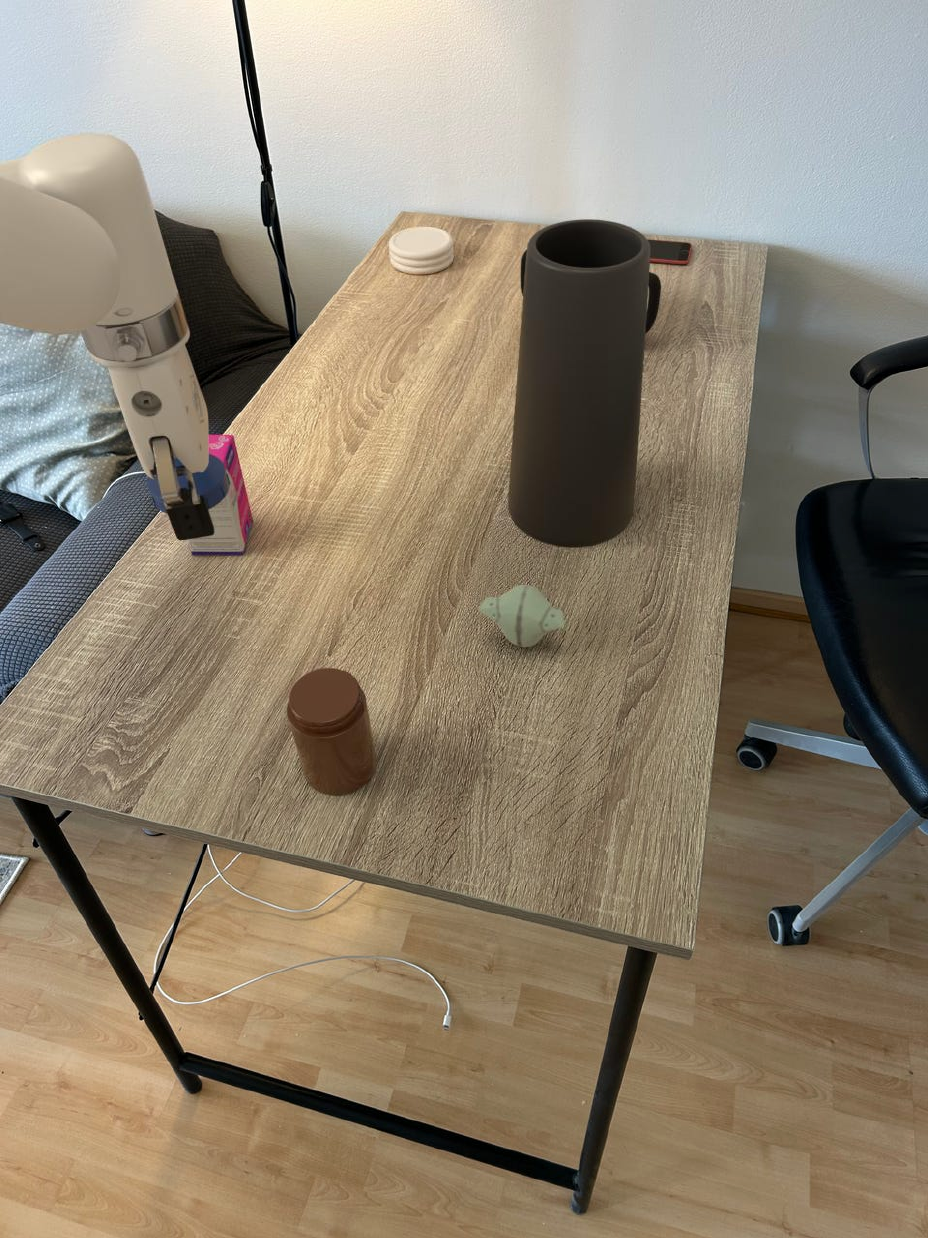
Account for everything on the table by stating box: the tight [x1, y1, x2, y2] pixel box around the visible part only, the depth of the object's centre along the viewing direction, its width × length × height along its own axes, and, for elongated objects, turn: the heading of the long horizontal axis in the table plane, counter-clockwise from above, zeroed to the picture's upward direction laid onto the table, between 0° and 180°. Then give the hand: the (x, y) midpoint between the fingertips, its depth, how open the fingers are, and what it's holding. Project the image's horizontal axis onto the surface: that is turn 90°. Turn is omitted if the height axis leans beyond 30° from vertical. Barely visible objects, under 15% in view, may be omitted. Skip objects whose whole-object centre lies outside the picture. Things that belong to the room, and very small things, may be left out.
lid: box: [146, 454, 231, 515], centre depth 77 cm, size 7×7×2 cm
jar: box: [286, 667, 378, 796], centre depth 72 cm, size 6×6×9 cm
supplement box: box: [187, 434, 254, 556], centre depth 92 cm, size 6×6×12 cm
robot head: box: [477, 584, 565, 648], centre depth 82 cm, size 8×4×7 cm, turn 73°
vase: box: [507, 218, 651, 548], centre depth 88 cm, size 14×14×29 cm
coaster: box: [388, 226, 455, 276], centre depth 139 cm, size 10×10×4 cm
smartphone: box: [646, 238, 693, 265], centre depth 139 cm, size 7×1×14 cm
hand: (196, 507), depth 79 cm, fingers closed on lid, 6 cm apart
